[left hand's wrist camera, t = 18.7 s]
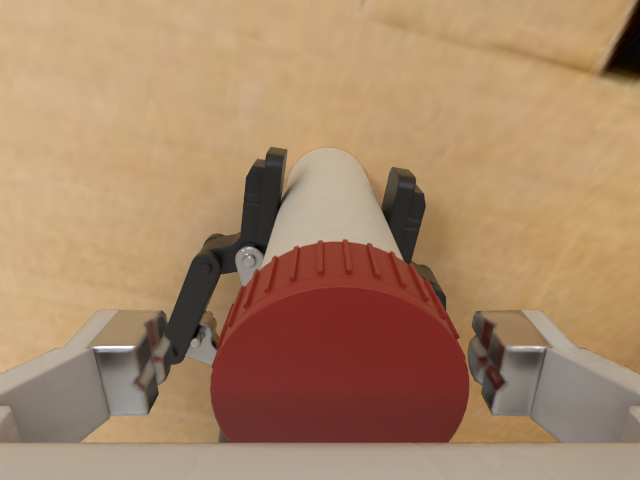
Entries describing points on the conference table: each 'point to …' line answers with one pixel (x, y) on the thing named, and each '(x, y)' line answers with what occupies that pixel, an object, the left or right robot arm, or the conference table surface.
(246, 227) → the right robot arm
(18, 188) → the conference table surface
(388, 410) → the lid
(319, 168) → the white bottle
